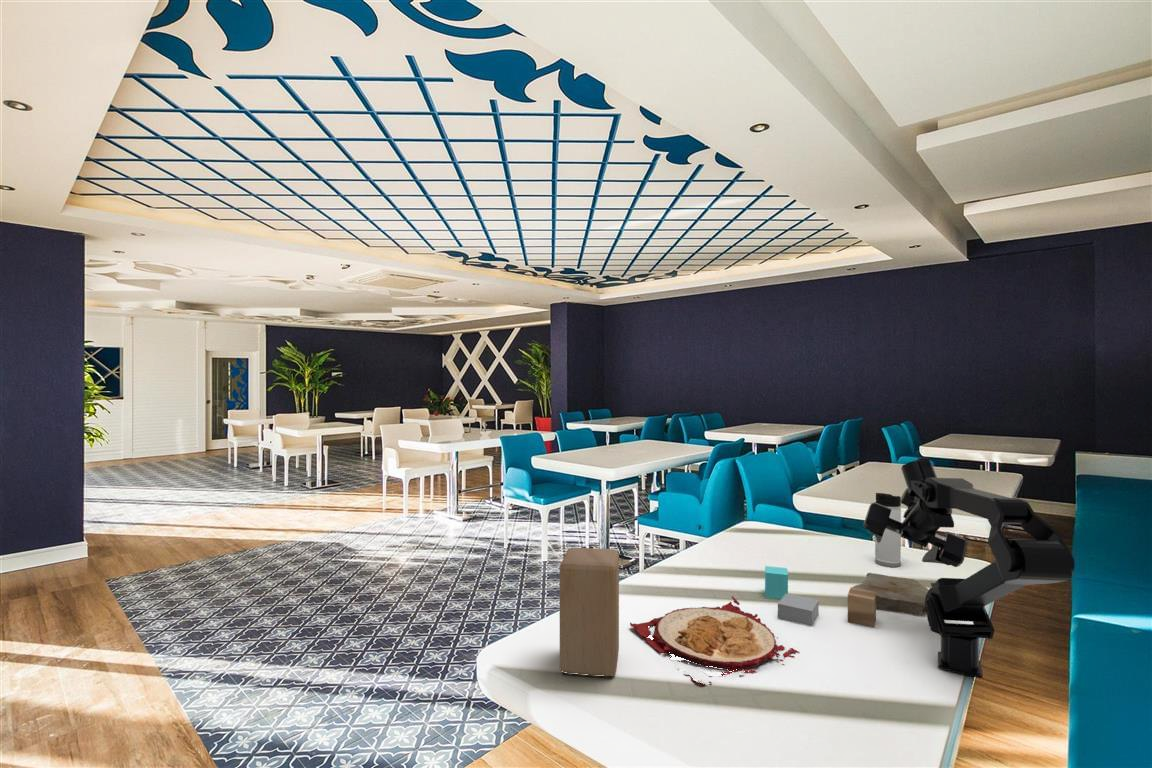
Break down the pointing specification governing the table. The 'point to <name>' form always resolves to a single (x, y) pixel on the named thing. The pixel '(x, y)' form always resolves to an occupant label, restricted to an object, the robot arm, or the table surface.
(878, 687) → the table surface
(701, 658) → the plate with food
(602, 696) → the table surface
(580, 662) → the block
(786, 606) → the grey slab
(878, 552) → the travel mug
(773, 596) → the teal cube
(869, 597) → the walnut cube
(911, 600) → the marble piece
